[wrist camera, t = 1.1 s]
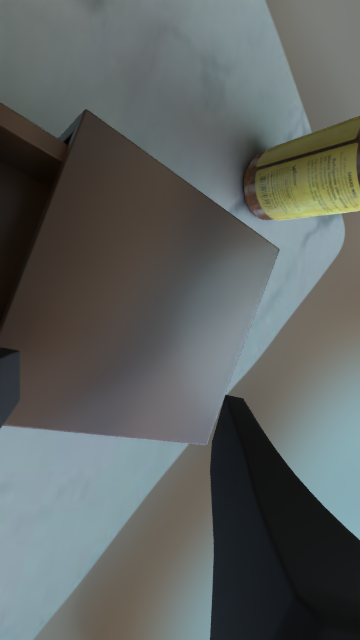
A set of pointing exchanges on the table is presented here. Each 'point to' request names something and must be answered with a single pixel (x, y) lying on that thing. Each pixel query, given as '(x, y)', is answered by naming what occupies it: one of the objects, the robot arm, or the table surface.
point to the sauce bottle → (307, 175)
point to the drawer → (22, 190)
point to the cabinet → (130, 297)
